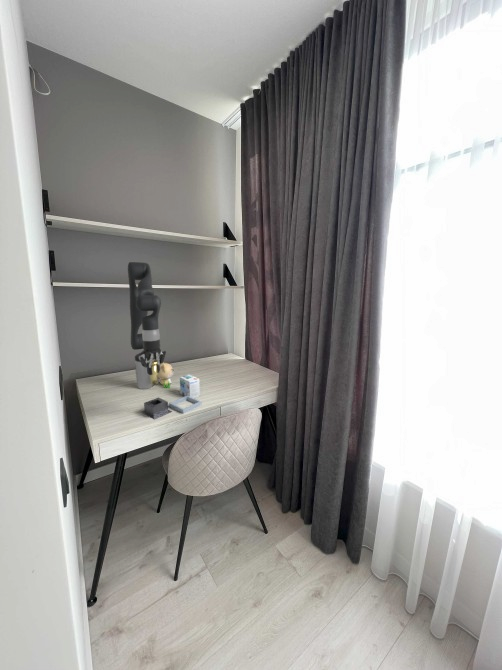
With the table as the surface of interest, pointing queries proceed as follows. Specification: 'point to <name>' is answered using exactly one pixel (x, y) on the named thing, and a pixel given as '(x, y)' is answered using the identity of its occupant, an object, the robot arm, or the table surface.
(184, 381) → the light bulb box
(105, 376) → the table surface
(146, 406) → the block
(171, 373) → the kitten
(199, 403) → the tray
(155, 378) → the pin
